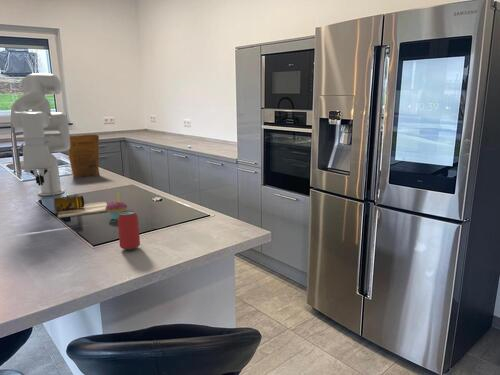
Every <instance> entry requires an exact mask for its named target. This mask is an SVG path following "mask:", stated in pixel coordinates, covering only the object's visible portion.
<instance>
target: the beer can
mask: <svg viewBox="0 0 500 375" xmlns="http://www.w3.org/2000/svg"><path fill="white" fill-rule="evenodd" d="M117 230H118V239H119V247H120V248H121V249H122V250H134V249H136V248H139V246H140V245H141V240H140V227H139V216H138V214H137V211H136V210H134V209H133V210H131V209H130V210H129V209H128V210H127V209H126V210H125V211H122V212H120V213H119V216H118V219H117Z"/></svg>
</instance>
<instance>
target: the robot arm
mask: <svg viewBox="0 0 500 375" xmlns="http://www.w3.org/2000/svg"><path fill="white" fill-rule="evenodd" d="M21 87H22V89H23V90H22V91H23V95H21V96H20V97H19V98H17V99H16V100H15V101H14V102H13V103H12V105H11V108H10V109H11V110H10V111H11V112H10V122H11V125H12V126H13V128H15V129H17V130H22V132H23V133H22V134H23V139H24V145H23V146H22V156H23V157H22V158H23V160H22V161H23V167H24V170H23V171H24V173H28V174H31V175H33V176H34V177H35V183H36V184H37V185H38V186H39V187H40V190H39V191H38V192H37V195H39V196H41V197H42V196H45V197H46V196H53V194H54V196H56V195H61V194H63V193H65V189H63V188H62V187H61V179H60V171H59V162H58V159H57V157H56V156H55V155H54V154H52V153H55V152H56V153H57V152H68V150H69V149H70V136H71V134H70V129H69V126H70V125H69V121H68V117H67V115H66V113H64V112H60V111H56V112H55V111H54V112H53V111H51V103H50V101H49V100H48V99H47V97H46V95H59V94H61V91H62V83H61V80H60V79H59V77H58V76H57V75H56V74H54V73H53V74H52V73H29V74H27V75H26V76H25V77H23V78H21ZM56 131H57V132H59V133H45V132H56Z"/></svg>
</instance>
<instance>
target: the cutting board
mask: <svg viewBox="0 0 500 375" xmlns="http://www.w3.org/2000/svg"><path fill="white" fill-rule="evenodd" d="M107 205H108V204H107V202H106V201H99V202H90V203H84V207H80V208H77V209H71V210H64V211H57V218H58V219H60V218H69V217H70V218H71V217H76V216H77V217H78V216H85V215H91V214H92V215H93V214H99V213H100V214H101V213H108V212H107V211H106V206H107Z"/></svg>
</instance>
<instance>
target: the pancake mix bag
mask: <svg viewBox="0 0 500 375" xmlns="http://www.w3.org/2000/svg"><path fill="white" fill-rule="evenodd" d="M99 145H100V136H99V134H98V135H97V134H85V135H70V149H69V150H68V151H67V155H68V159H69V163H70V169H71V172H72V177H73V178H76V177H78V178H91V177H92V176H93V177H97V176H98V175H99V176H100V175H101V174H100V170H99V169H100V168H99V166H100V165H99V164H100V163H99V156H100V146H99ZM93 177H92V178H93Z"/></svg>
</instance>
